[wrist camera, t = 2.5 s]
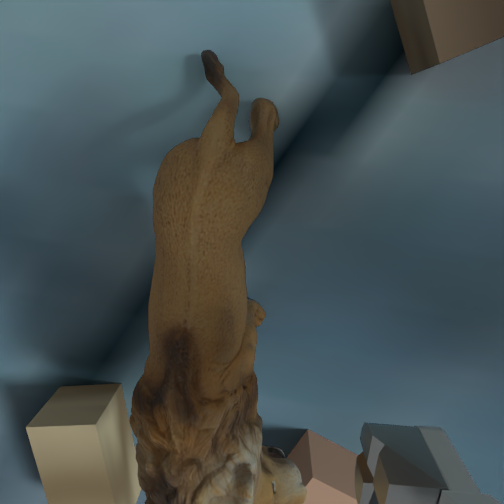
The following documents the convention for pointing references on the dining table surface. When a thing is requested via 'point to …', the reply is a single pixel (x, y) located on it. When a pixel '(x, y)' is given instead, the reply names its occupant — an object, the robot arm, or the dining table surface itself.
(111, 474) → the oak brick
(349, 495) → the terracotta brick
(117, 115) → the dining table surface
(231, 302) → the lion figurine
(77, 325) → the dining table surface
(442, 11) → the walnut brick
